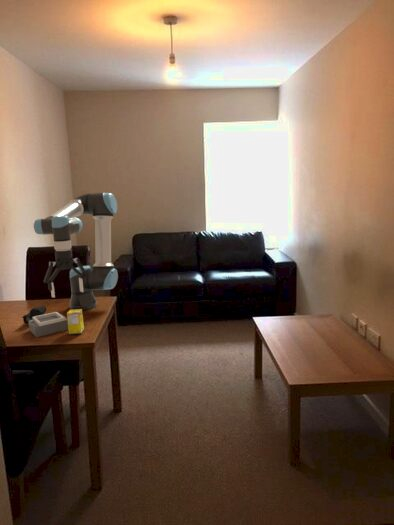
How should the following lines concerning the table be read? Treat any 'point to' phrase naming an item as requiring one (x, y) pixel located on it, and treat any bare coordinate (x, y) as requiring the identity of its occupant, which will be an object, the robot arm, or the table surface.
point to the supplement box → (75, 322)
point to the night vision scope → (34, 313)
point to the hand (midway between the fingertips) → (67, 294)
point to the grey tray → (48, 324)
